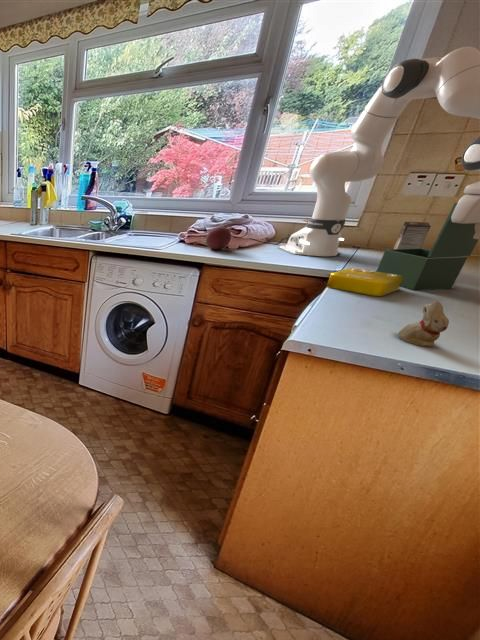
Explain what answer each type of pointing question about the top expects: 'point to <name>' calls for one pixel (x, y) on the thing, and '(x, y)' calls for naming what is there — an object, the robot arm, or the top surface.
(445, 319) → the chocolate bunny
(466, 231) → the lid
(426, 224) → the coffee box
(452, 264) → the green hinged box
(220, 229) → the decorative ball
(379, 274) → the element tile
